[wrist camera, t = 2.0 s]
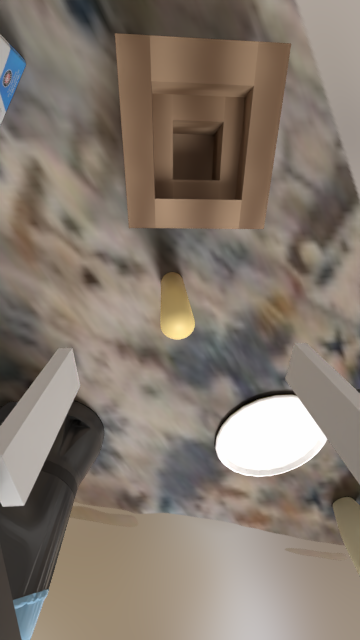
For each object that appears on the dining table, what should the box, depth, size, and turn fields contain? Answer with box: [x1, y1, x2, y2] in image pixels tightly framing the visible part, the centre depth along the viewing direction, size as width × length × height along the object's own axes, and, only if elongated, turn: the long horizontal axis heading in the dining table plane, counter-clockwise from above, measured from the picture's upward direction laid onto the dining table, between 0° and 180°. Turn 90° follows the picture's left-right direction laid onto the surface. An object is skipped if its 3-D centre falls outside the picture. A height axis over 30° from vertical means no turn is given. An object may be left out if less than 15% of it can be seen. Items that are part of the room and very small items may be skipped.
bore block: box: [115, 33, 291, 229], centre depth 22 cm, size 12×12×7 cm
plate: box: [215, 394, 327, 477], centre depth 44 cm, size 21×21×1 cm
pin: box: [160, 272, 195, 340], centre depth 25 cm, size 3×3×12 cm
